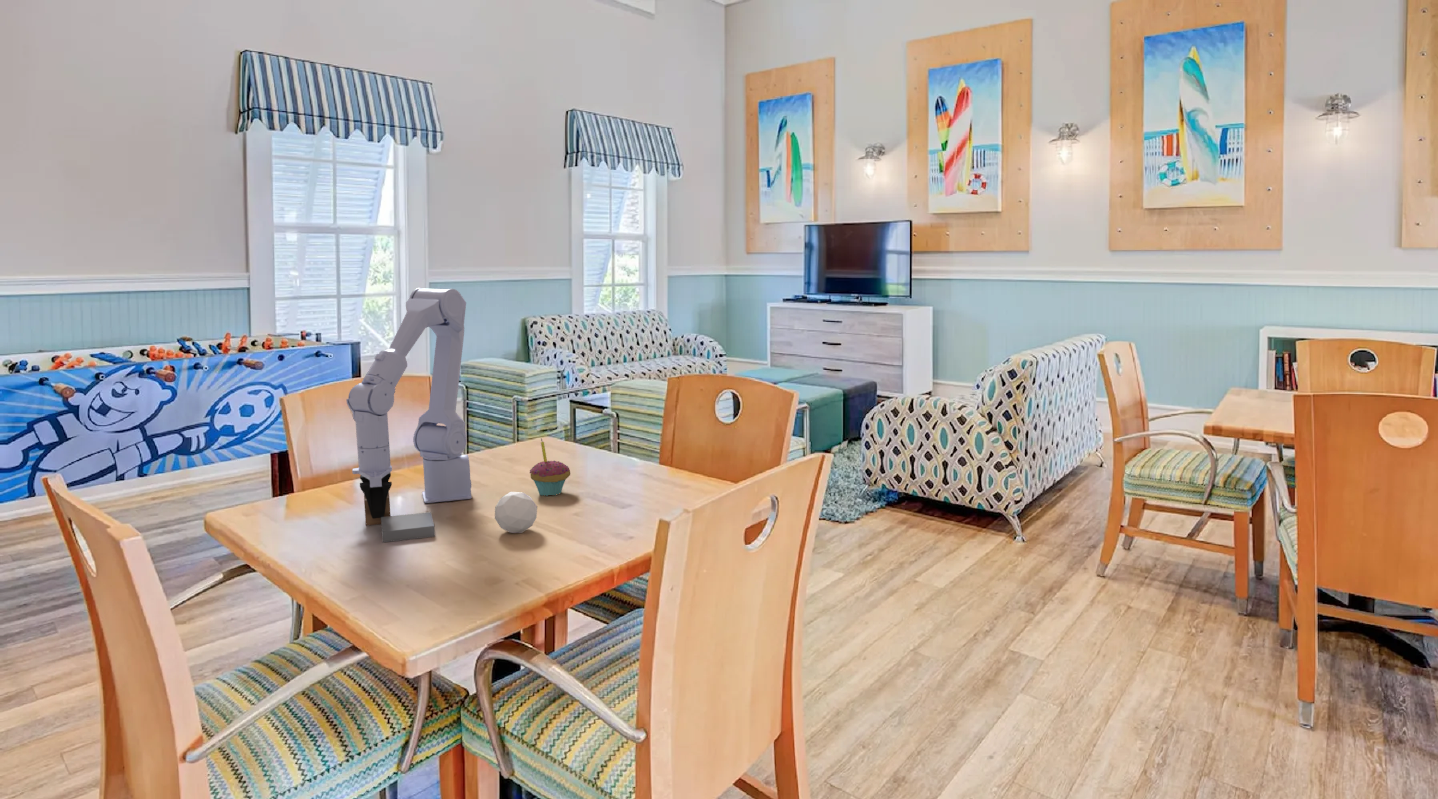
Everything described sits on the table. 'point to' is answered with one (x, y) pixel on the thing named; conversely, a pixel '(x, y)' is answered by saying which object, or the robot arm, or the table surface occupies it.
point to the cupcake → (549, 475)
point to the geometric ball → (515, 512)
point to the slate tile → (407, 527)
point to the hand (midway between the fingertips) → (377, 513)
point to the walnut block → (368, 515)
